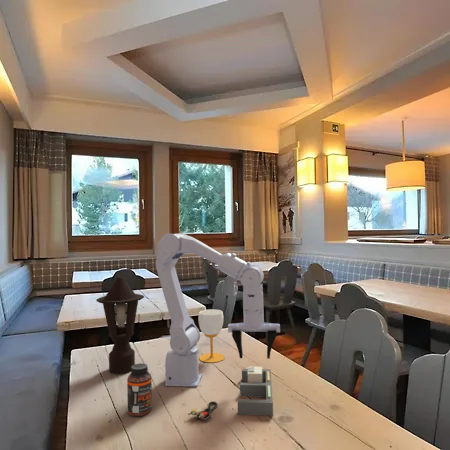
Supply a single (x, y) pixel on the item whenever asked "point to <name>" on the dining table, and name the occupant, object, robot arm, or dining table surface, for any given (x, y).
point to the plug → (254, 374)
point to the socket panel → (256, 395)
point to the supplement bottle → (139, 390)
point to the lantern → (120, 324)
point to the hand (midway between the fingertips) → (254, 357)
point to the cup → (211, 332)
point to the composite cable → (204, 412)
